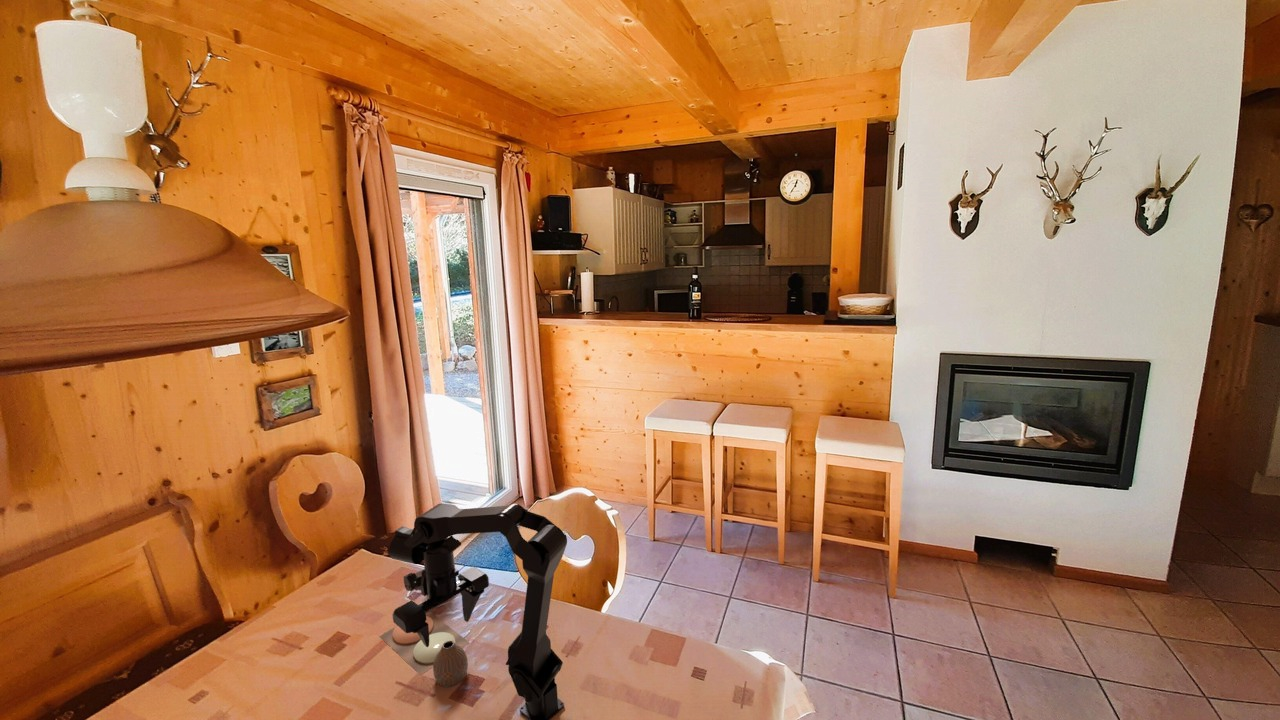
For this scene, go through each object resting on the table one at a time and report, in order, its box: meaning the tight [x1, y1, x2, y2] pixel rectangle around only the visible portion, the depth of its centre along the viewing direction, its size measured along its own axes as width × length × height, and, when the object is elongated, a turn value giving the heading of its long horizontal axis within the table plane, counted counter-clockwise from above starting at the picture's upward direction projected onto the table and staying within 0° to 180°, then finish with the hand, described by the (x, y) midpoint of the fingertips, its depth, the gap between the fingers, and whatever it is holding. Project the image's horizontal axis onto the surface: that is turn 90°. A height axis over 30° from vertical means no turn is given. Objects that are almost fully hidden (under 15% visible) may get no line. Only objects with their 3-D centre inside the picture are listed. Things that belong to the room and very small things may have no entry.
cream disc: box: [413, 632, 456, 664], centre depth 119 cm, size 9×9×1 cm
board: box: [378, 611, 470, 676], centre depth 122 cm, size 19×12×1 cm, turn 51°
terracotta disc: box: [393, 616, 433, 644], centre depth 125 cm, size 9×9×1 cm
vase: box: [432, 641, 468, 687], centre depth 111 cm, size 7×7×9 cm
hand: (447, 633), depth 109 cm, fingers open, 9 cm apart
